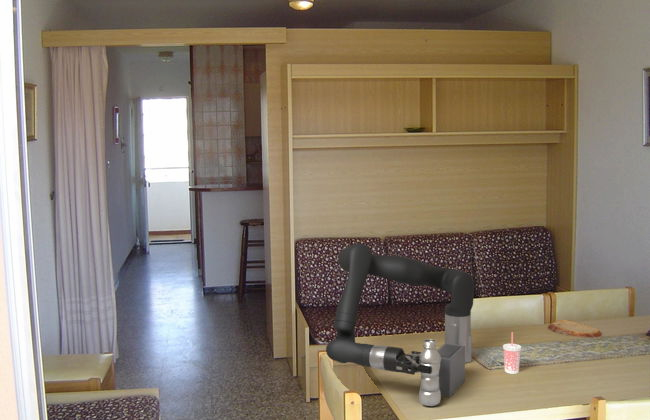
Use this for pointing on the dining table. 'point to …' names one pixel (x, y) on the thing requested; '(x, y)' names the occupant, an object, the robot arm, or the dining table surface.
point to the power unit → (451, 368)
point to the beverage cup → (511, 357)
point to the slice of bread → (574, 329)
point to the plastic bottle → (430, 382)
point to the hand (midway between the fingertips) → (436, 365)
